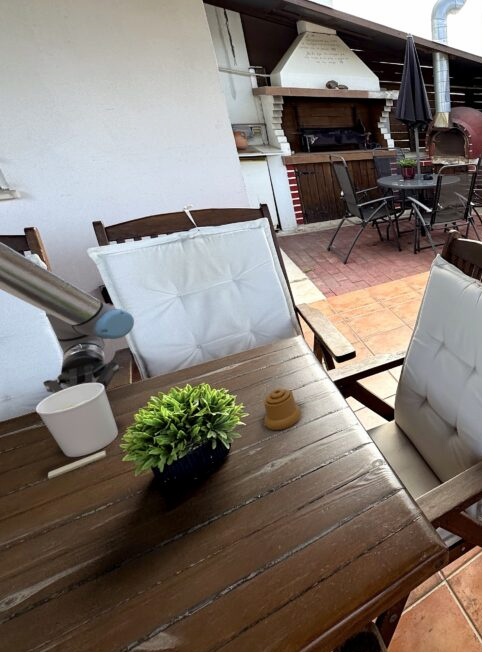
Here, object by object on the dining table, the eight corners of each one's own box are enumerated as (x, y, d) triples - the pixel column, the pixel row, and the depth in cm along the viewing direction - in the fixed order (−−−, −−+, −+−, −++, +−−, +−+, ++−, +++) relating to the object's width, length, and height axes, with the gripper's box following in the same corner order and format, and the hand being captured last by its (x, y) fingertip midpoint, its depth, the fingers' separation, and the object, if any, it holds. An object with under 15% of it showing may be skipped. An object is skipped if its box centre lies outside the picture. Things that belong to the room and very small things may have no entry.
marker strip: (49, 479, 77) (47, 477, 77) (49, 474, 78) (48, 472, 78) (106, 456, 82) (105, 454, 82) (105, 452, 84) (104, 450, 83)
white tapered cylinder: (59, 443, 86) (35, 397, 82) (120, 420, 93) (102, 376, 88) (59, 468, 80) (34, 420, 75) (125, 441, 86) (105, 396, 82)
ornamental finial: (273, 437, 88) (260, 421, 92) (307, 419, 93) (294, 405, 97) (265, 407, 85) (252, 393, 89) (301, 390, 90) (287, 378, 95)
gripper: (40, 361, 97) (29, 406, 82) (113, 341, 106) (116, 379, 90) (52, 386, 100) (44, 435, 84) (122, 365, 108) (127, 407, 93)
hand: (81, 406), depth 87 cm, fingers closed
